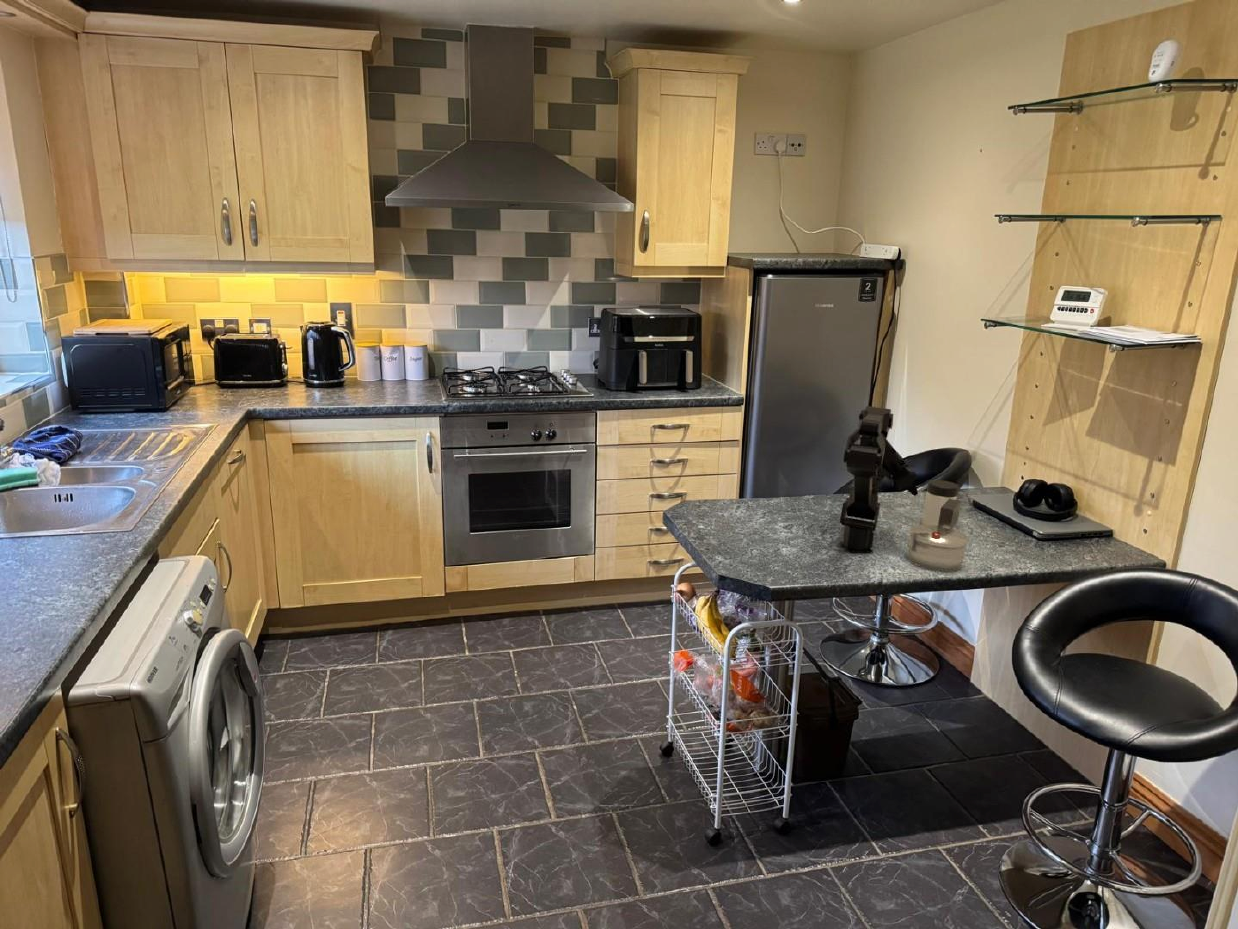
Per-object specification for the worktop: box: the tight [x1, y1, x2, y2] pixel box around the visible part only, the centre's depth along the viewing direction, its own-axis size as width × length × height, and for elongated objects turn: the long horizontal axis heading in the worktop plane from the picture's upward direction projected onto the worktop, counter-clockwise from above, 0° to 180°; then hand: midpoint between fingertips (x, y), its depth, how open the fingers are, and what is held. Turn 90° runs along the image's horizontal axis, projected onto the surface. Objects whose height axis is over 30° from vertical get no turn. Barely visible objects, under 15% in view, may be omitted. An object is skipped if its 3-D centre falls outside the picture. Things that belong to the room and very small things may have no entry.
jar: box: [921, 479, 960, 526], centre depth 235 cm, size 9×8×12 cm
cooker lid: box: [909, 499, 969, 548], centre depth 210 cm, size 22×13×6 cm, turn 148°
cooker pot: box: [906, 535, 967, 573], centre depth 211 cm, size 20×13×6 cm, turn 148°
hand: (916, 494), depth 219 cm, fingers closed
